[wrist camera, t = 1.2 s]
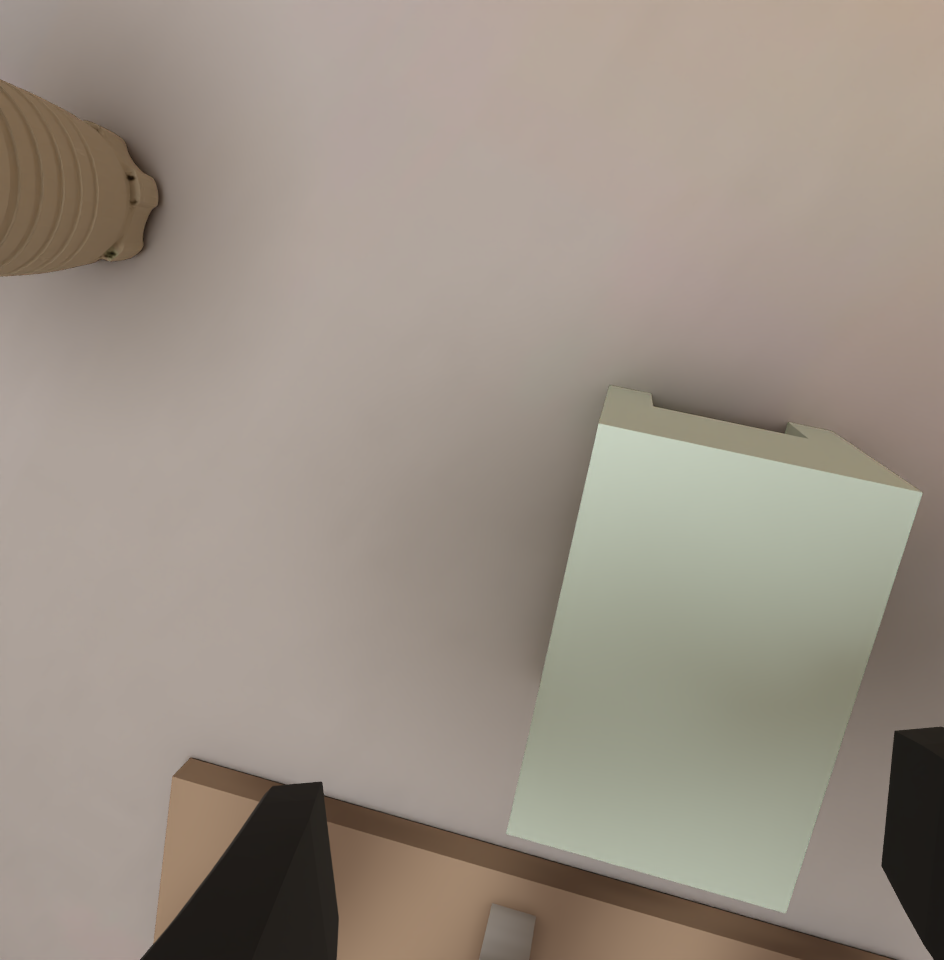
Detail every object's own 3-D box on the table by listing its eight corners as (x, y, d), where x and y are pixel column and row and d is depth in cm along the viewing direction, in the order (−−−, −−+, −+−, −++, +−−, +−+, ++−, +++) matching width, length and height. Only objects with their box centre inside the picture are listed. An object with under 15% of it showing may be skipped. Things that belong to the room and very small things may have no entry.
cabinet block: (831, 430, 20) (923, 492, 14) (742, 735, 22) (785, 913, 15) (609, 384, 20) (598, 423, 14) (541, 684, 22) (506, 834, 16)
